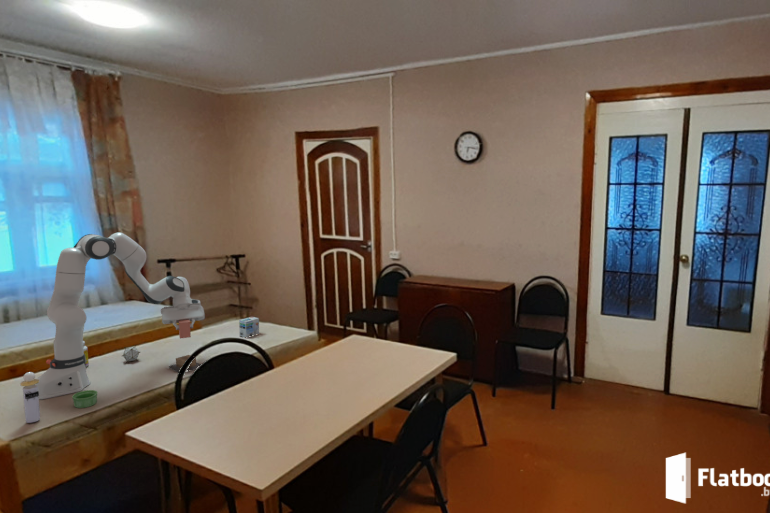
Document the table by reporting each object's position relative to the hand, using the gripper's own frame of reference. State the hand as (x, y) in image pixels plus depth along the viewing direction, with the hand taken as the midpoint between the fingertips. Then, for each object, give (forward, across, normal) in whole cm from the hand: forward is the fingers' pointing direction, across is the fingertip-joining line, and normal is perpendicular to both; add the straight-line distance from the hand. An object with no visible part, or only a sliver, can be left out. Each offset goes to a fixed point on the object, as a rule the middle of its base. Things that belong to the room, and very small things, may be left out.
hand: (184, 328), depth 240 cm
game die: (-1, -26, +30) cm, 40 cm away
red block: (+3, 0, +4) cm, 4 cm away
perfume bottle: (+41, -58, -12) cm, 72 cm away
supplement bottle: (-2, -48, +31) cm, 58 cm away
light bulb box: (-15, +39, +46) cm, 62 cm away
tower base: (+14, 0, +15) cm, 21 cm away
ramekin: (+34, -41, -5) cm, 54 cm away
